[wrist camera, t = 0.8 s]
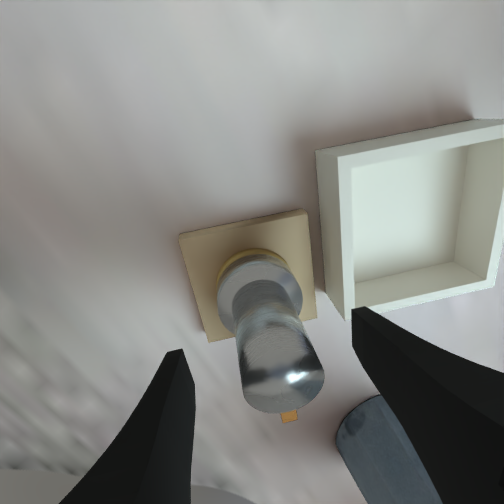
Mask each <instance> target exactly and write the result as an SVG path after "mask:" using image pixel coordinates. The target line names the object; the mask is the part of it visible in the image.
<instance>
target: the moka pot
mask: <svg viewBox="0 0 504 504" xmlns="http://www.w3.org/2000/svg"><path fill="white" fill-rule="evenodd" d="M336 446H337V448H338V450H339V452H340V454H341V457H342V458H343V460H344V462H345V464H346V466H347V468H348V470H349V471H350V473H351V475H352V477H353V479H354V480H355V482H356V484H357V486H358V487H359V489H360V491H361V493H362V494H363V496H364V498H365V500H366V501H367V503H368V504H443V503H442V501H441V499H440V497H439V495H438V493H437V491H436V489H435V487H434V485H433V483H432V481H431V479H430V477H429V475H428V473H427V471H426V469H425V468H424V466H423V464H422V462H421V460H420V458H419V456H418V454H417V452H416V451H415V449H414V447H413V445H412V443H411V442H410V440H409V438H408V436H407V434H406V432H405V431H404V429H403V427H402V425H401V424H400V422H399V421H398V419H397V417H396V416H395V414H394V413H393V411H392V410H391V408H390V407H389V405H388V404H387V403H386V401H385V400H384V398H383V397H382V395H379V396H376V397H374V398H371V399H369V400H367V401H366V402H364V403H362V404H360V405H359V406H358V407H356V408H355V409H354V410H353V411H352V412H351V413H350V414H349V415H348V416H347V417H346V418H345V419H344V421H343V423H342V424H341V426H340V428H339V430H338V433H337V437H336Z"/></svg>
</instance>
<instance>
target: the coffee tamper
mask: <svg viewBox="0 0 504 504" xmlns="http://www.w3.org/2000/svg"><path fill="white" fill-rule="evenodd" d="M302 304H303V295H302V290H301V288H300V286H299V284H298V282H297V280H296V278H295V277H294V275H293V273H292V271H291V269H290V268H289V267H288V266H287V265H286V264H285V263H284V262H283V261H282V260H280V259H278V258H276V257H274V256H271V255H266V254H253V255H248V256H244V257H242V258H239V259H238V260H236V261H234V262H233V263H231V264H230V265H229V266H228V267H227V268H226V269H225V270H224V272H223V273H222V275H221V276H220V278H219V281H218V284H217V306H218V314H219V317H220V320H221V322H222V324H223V325H224V326H225V327H226V328H227V329H228V330H229V331H230V332H231V333H233V334H234V335H235V337H236V345H237V352H238V360H239V367H240V374H241V382H242V389H243V395H244V397H245V399H246V401H247V402H248V403H249V404H250V405H251V406H252V407H254V408H255V409H257V410H259V411H262V412H267V413H280V414H281V418H282V422H283V423H286V422H290V421H294V420H298V419H297V412H296V409H298V408H300V407H302V406H304V405H306V404H307V403H309V402H310V401H311V400H312V399H313V398H315V396H316V395H317V394H318V393H319V391H320V390H321V388H322V386H323V383H324V370H323V367H322V365H321V363H320V361H319V359H318V357H317V354H316V352H315V350H314V348H313V346H312V344H311V342H310V339H309V337H308V335H307V333H306V331H305V329H304V327H303V325H302V322H301V320H300V318H299V314H300V312H301V309H302Z"/></svg>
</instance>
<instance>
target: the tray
mask: <svg viewBox="0 0 504 504" xmlns="http://www.w3.org/2000/svg"><path fill="white" fill-rule="evenodd" d="M315 157H316V170H317V183H318V197H319V210H320V223H321V236H322V250H323V263H324V276H325V290H326V294H327V296H328V297H329V299H330V300H331V301H332V303H333V304H334V306H335V307H336V309H337V310H338V312H339V313H340V315H341V316H342V318H343V319H344V320H345V321H348V320H351V309H354V308H359V307H363V306H366V307H367V308H369V309H371V310H373V311H374V312H376V313H383V312H387V311H391V310H395V309H400V308H404V307H408V306H413V305H417V304H421V303H426V302H430V301H434V300H439V299H443V298H447V297H452V296H456V295H460V294H465V293H469V292H473V291H478V290H482V289H486V288H491V287H494V285H495V280H496V275H497V270H498V265H499V260H500V255H501V251H502V246H503V241H504V119H472V120H467V121H462V122H457V123H452V124H447V125H442V126H437V127H432V128H427V129H422V130H417V131H411V132H406V133H401V134H396V135H391V136H386V137H381V138H376V139H371V140H366V141H361V142H356V143H350V144H345V145H340V146H335V147H330V148H325V149H320V150H315Z"/></svg>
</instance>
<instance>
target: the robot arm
mask: <svg viewBox="0 0 504 504" xmlns="http://www.w3.org/2000/svg"><path fill="white" fill-rule="evenodd" d="M351 321H352V347H353V349H354V351H355V353H356V355H357V357H358V359H359V361H360V362H361V364H362V366H363V368H364V370H365V371H366V373H367V374H368V376H369V377H370V379H371V380H372V382H373V383H374V385H375V386H376V388H377V389H378V391H379V392H380V394H381V395H382V397H383V398H384V400H385V401H386V403H387V404H388V405H389V407H390V408H391V410H392V411H393V413H394V414H395V416H396V417H397V419H398V421H399V422H400V424H401V425H402V427H403V429H404V431H405V432H406V434H407V436H408V438H409V440H410V442H411V443H412V445H413V447H414V449H415V451H416V452H417V454H418V456H419V458H420V460H421V462H422V464H423V466H424V468H425V469H426V471H427V473H428V475H429V477H430V479H431V481H432V483H433V485H434V487H435V489H436V491H437V493H438V495H439V497H440V499H441V501H442V503H443V504H504V373H502V372H499V371H496V370H494V369H491V368H488V367H485V366H482V365H480V364H477V363H474V362H472V361H469V360H467V359H464V358H462V357H460V356H457V355H455V354H453V353H450V352H448V351H446V350H444V349H441V348H439V347H437V346H435V345H433V344H431V343H429V342H427V341H425V340H423V339H421V338H419V337H417V336H416V335H414V334H412V333H410V332H408V331H406V330H405V329H403V328H401V327H399V326H398V325H396V324H394V323H393V322H391V321H389V320H388V319H386V318H384V317H383V316H381V315H379V314H378V313H376V312H374V311H373V310H371V309H369V308H367V307H366V306H363V307H359V308H354V309H351ZM195 411H196V404H195V384H194V381H193V378H192V375H191V372H190V369H189V366H188V363H187V361H186V358H185V355H184V352H183V349H178V350H174V351H169V352H167V353H166V355H165V357H164V359H163V361H162V362H161V364H160V366H159V368H158V370H157V372H156V374H155V376H154V378H153V379H152V381H151V383H150V385H149V386H148V388H147V390H146V392H145V393H144V395H143V397H142V399H141V400H140V402H139V403H138V405H137V407H136V408H135V410H134V411H133V413H132V414H131V416H130V417H129V419H128V421H127V422H126V423H125V425H124V426H123V428H122V429H121V431H120V432H119V433H118V435H117V436H116V438H115V439H114V440H113V442H112V443H111V444H110V446H109V447H108V448H107V449H106V451H105V452H104V453H103V454H102V456H101V457H100V458H99V459H98V460H97V462H96V463H95V464H94V465H93V466H92V468H91V469H90V470H89V471H88V472H87V474H86V475H85V476H84V477H83V478H82V479H81V480H80V482H79V483H78V484H77V485H76V486H75V487H74V488H73V489H72V490H71V491H70V492H69V493H68V495H67V496H66V497H65V498H64V499H63V500H62V501H61V502H60V503H59V504H191V490H190V489H191V488H190V487H191V486H190V482H191V463H192V451H193V438H194V425H195Z"/></svg>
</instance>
